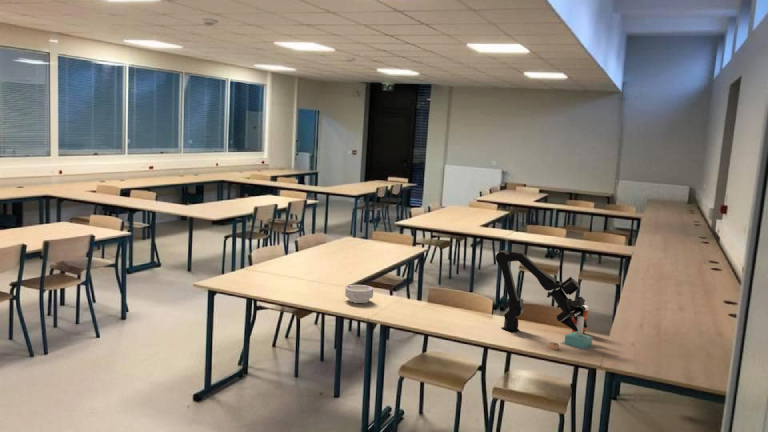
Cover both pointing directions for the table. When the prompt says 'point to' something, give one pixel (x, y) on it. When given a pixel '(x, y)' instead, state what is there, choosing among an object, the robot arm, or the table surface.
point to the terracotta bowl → (553, 346)
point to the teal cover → (578, 336)
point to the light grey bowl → (359, 293)
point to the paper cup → (584, 317)
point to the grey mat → (579, 348)
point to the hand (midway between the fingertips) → (581, 329)
